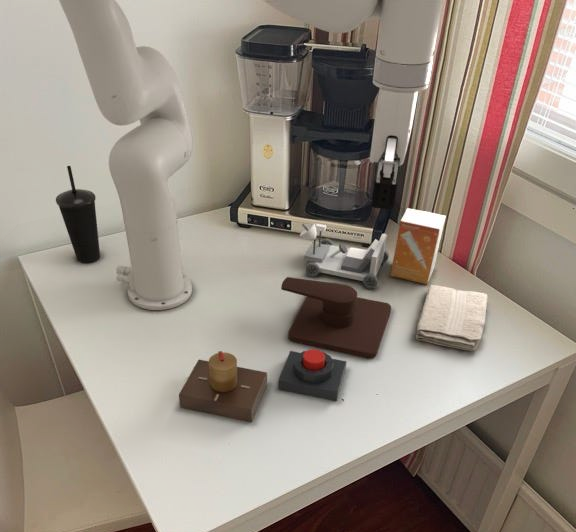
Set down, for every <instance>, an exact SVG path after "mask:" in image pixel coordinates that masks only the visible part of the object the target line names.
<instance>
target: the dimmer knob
mask: <svg viewBox="0 0 576 532" xmlns="http://www.w3.org/2000/svg"><path fill="white" fill-rule="evenodd" d="M237 359H238V358H237V357H236V356H235V355H234V354H233V353H230V352H225V351H224V352H223V351H222V350H220V351H218V352H217V353H214V354H213V355H211V356H210V357H209V359H208V361H209V374H210V385H211V387H212V388H213V389H214V390H216V391H219V392H228V391H231V390H233V389H234V388H235V387H236V386H237V383H238V379H237V367H238V360H237Z"/></svg>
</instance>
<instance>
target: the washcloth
mask: <svg viewBox="0 0 576 532" xmlns="http://www.w3.org/2000/svg"><path fill="white" fill-rule="evenodd" d="M487 304H488V294H487V293H485V292H479V291H472V290H459V289H455V288H452V287H448V286H442V285H437V284H436V285H435V284H430V285H429V286H428V288H427V292H426V295H425V300H424V303H423V307H422V310H421V314H420V317H419V320H418V322H417V323H418V324H417V326H416V334H415V339H416V340H417V341H421V342H426V343H429V344H434V345H438V346H443V347H448V348H454V349H457V350H463V351H472V352H475V351H477V349H478V347H479V345H480V341H481V339H482V338H483V332H484V327H485V324H486V314H487Z"/></svg>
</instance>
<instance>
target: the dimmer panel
mask: <svg viewBox="0 0 576 532" xmlns="http://www.w3.org/2000/svg"><path fill="white" fill-rule="evenodd" d="M237 379H238V383H237V386H236V387H235V388H234V389H233V390H231V391H228V392H219V391H216V390H214V389H213V388H212V387H211V385H210V374H209V360H204V359H198V360H197V362H196V364H195V365H194V367H193V369H192V370H191V372H190V374H189V375H188V378H187V379H186V380H185V383H184V384H183V386H182V388H181V390H180V392H179V393H178V401H179V408H180V409H184V410H190V411H193V412H198V413H204V414H209V415H214V416H218V417H223V418H229V419H233V420H238V421H242V422H247V423H252V422H253V420H254V418H255V416H256V414H257V411H258V409H259V406H260V404H261V401H262V399H263V398H264V397H263V396H264V395H265V392H266V389H267V387H268V372H267V371H263V370H262V371H261V370H257V369H251V368H245V367H242V366H241V367H240V366H237Z"/></svg>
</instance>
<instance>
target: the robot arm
mask: <svg viewBox="0 0 576 532" xmlns="http://www.w3.org/2000/svg"><path fill="white" fill-rule="evenodd" d="M58 1H59V4H60V6H61V8H62V10H63V13H64V15H65V17H66V19H67V22H68V24H69V27H70V29H71V31H72V34H73V37H74V40H75V43H76V47H77V50H78V53H79V56H80V60H81V62H82V65H83V68H84V70H85V73H86V76H87V80H88V82H89V85H90V88H91V90H92V94H93V96H94V100H95V102H96V105H97V108H98V109H99V112H100V113H101V114H102V116H103V117H104V119H105V120H107V121H108V122H109V123H110V124H113V125H115V126H128V125H132V124H134V123H136V122H138V121H139V123H140V125H138V126H136V127H134V128H133V129H131V130H130V131H128V132H127V133H125V134H124V135H123V136H121V137H120V138H119V139H118V140H117V141H116V142H114V145H113V146H112V148H111V150H110V152H109V155H108V169H109V172H110V176H111V179H112V181H113V184H114V186H115V189H116V193H117V195H118V199H119V203H120V208H121V213H122V219H123V224H124V228H125V235H126V242H127V247H128V253H129V259H130V260H129V261H130V264H131V266H130V267H129V266H126V265H121V264H117V266H116V269H115V273H116V274H117V275H116V281H118V282H123V283H127V284H129V285H128V287H127V296H128V299H129V301H130V302H131V304H134V305H135V306H137V307H138V308H141V309H144V310H150V311H165V310H170V309H175V308H176V307H178V306H182V305H183V304H185V303H186V302H187V301H188V300H189V299H190V298H191V296H192V294H193V286H192V282H191V280H190V279H189V278H188V277H186V276H185V275H184V272H183V263H182V253H181V243H180V233H179V225H178V222H179V221H178V216H177V208H176V204H175V201H174V198H173V196H172V193H171V192H170V190H169V188H168V180H169V179H170V178H171V177H172V176H174V174H175V173H176V172H177V171H179V170H180V169H182V167H184V166H185V164H187V162H188V161H189V160H190V158H191V156H192V152H193V148H194V147H193V144H194V143H193V135H192V130H191V127H190V123H189V118H188V114H187V111H186V107H185V102H184V99H183V94H182V91H181V87H180V84H179V80H178V77H177V74H176V72H175V70H174V67H173V66H172V65H171V63H170V61H169V60H168V59H167V57H166V56H165V55H164V54H163V53H161V52H160V51H159V50H157V49H156V48H153V47H151V46H145V45H142V46H137V45H136V42H135V39H134V36H133V31H132V28H131V25H130V21H129V20H128V18H127V16H126V14H125V11H124V10H123V9H122V7H121V6H120V4H119V3H118V1H116V0H58ZM263 1H264V2H265V3H266V4H268V6H270V7H272V8H273V9H276V10H277V11H278V12H280V13H282V14H284V15H285V16H286V15H287V16H288V17H290V18H293V19H296V20H297V21H300V22H302V23H303V24H304V23H305V24H306V25H309V26H311V27H313V28H315V29H318V30H321V31H323V32H328V33H332V34H346V33H349V32H352V31H354V30H355V29H357V28H358V27H360V26H361V25H362V24H363V23H364V22H367V21H369V20H372V19H378V20H379V24H378V34H377V41H376V51H375V59H374V68H373V77H372V84H373V85H374V86H376V87H377V88H379V89H378V95H377V100H376V107H375V115H374V122H373V132H372V138H371V147H370V153H369V162H370V163H371V164H374V163H378V166H377V175H376V179H375V180H374V185H373V192H372V193H373V194H372V199H371V200H372V201H371V207H372V208H374V209H381V210H382V209H383V210H393V209H394V208H395V201H396V195H397V189H398V176H399V170H400V167H401V166H402V165H403V164H404V162H405V158H406V154H407V151H408V147H409V143H410V138H411V133H412V131H413V125H414V119H415V113H416V107H417V102H418V97H419V96H418V95H419V92H422V91H425V90H426V89H427V90H428V88H429V85H430V79H431V72H432V68H433V62H434V61H433V60H434V56H435V50H436V44H437V37H438V31H439V27H440V21H441V16H442V11H443V10H442V8H443V3H444V0H263Z"/></svg>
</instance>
